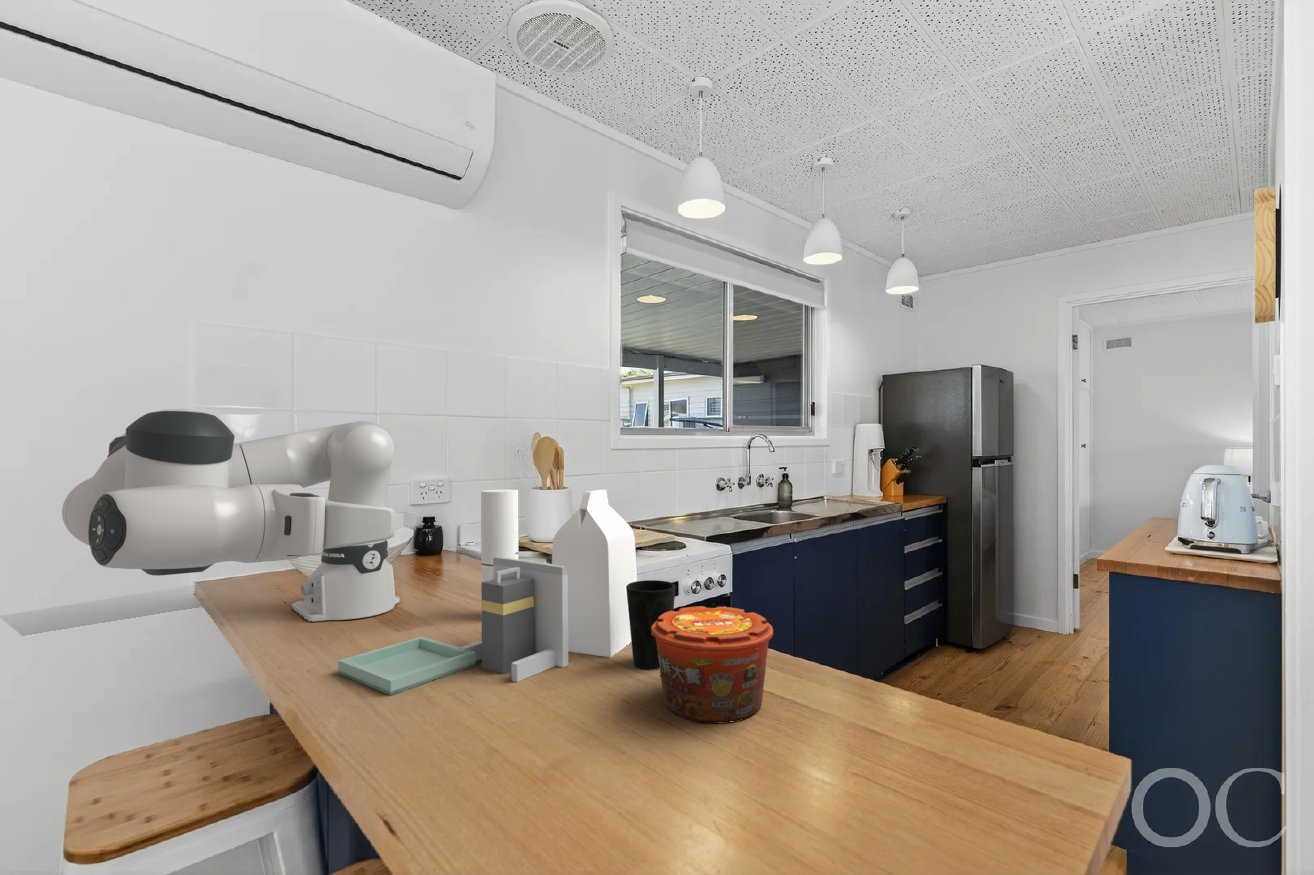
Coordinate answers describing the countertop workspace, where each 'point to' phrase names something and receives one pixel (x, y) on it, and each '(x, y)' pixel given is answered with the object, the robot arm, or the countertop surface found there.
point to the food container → (712, 662)
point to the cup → (647, 617)
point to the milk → (597, 575)
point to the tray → (405, 664)
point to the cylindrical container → (498, 528)
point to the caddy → (507, 620)
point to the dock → (539, 617)
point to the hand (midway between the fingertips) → (396, 517)
